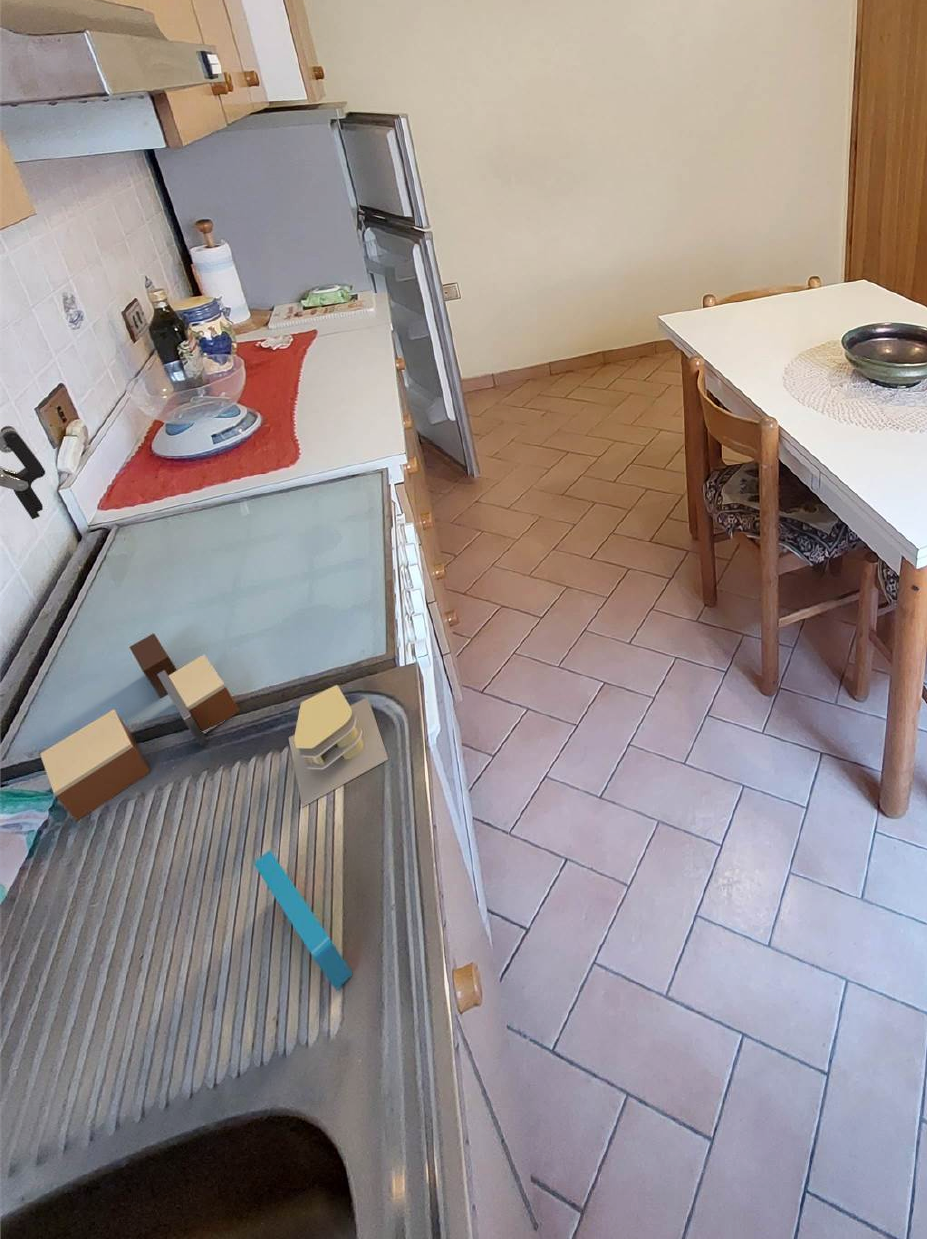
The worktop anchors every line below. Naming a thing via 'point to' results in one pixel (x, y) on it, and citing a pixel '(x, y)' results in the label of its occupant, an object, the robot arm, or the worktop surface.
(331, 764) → the stacked layers on plate
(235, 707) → the cream topped brown block
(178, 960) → the worktop surface
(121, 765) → the cake
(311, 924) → the long teal plank
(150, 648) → the knife
